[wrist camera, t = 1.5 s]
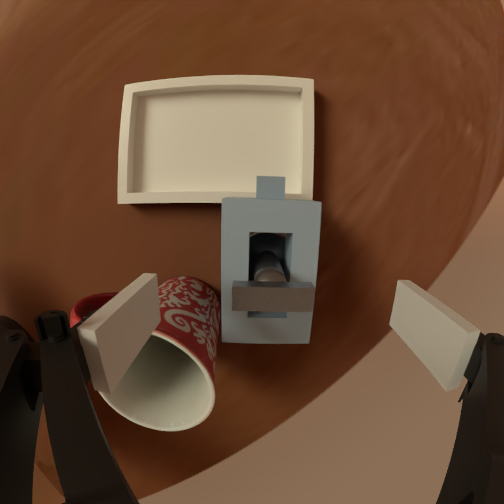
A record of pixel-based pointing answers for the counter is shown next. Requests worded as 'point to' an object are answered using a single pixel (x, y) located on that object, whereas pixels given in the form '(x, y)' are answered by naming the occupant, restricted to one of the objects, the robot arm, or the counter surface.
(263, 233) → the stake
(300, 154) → the tray
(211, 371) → the mug
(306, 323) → the windowed blue block
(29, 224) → the counter surface
